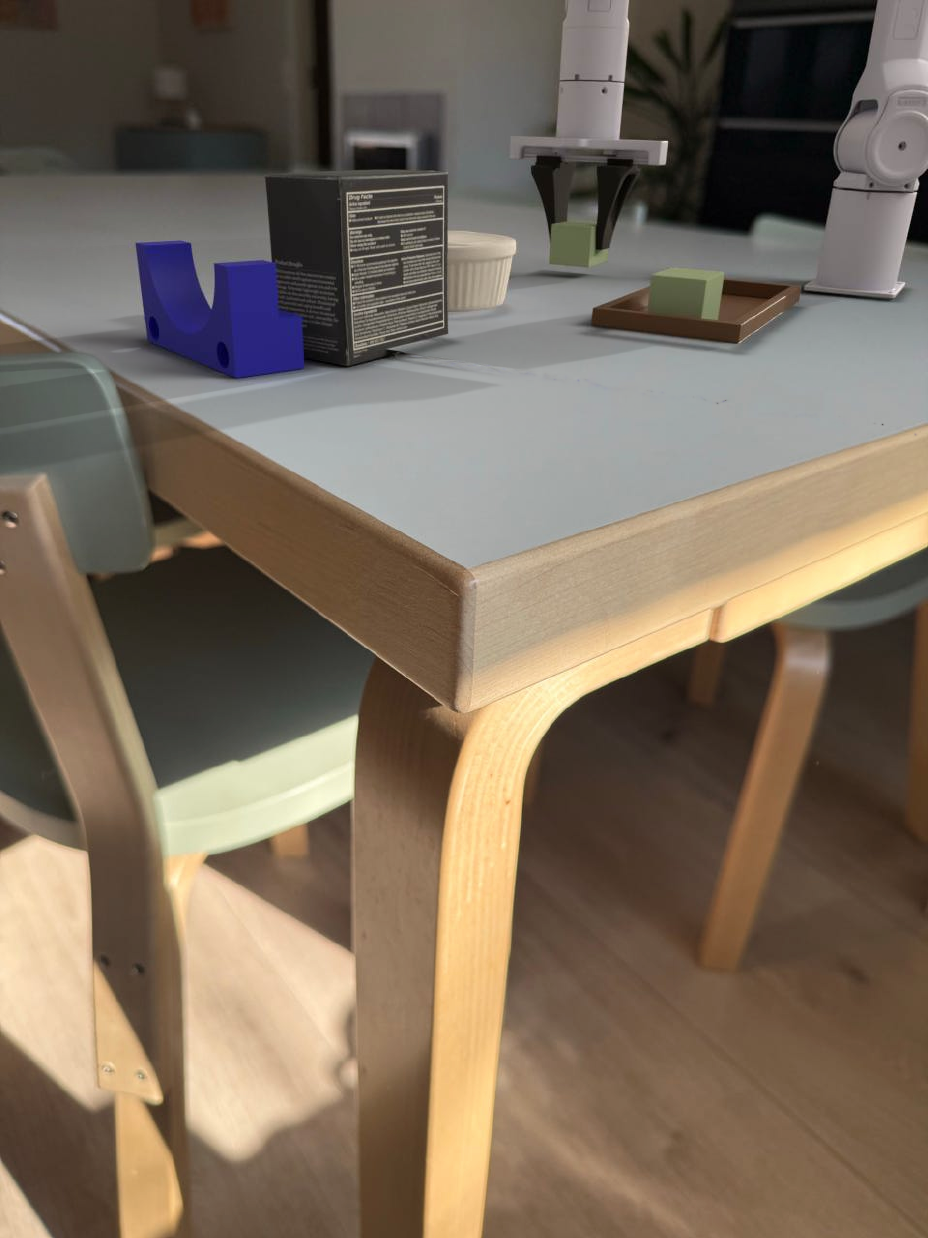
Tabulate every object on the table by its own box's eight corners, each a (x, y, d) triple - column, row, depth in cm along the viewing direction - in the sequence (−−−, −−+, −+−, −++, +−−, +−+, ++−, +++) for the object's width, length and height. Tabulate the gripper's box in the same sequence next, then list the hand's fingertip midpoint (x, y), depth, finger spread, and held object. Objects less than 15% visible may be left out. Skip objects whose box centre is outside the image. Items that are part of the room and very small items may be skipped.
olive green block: (569, 258, 94) (571, 220, 92) (607, 261, 92) (610, 222, 90) (548, 263, 90) (551, 223, 88) (588, 267, 88) (591, 226, 86)
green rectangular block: (666, 315, 73) (671, 266, 71) (717, 321, 71) (725, 271, 69) (645, 325, 69) (650, 274, 67) (699, 331, 67) (706, 279, 65)
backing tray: (677, 294, 86) (680, 273, 85) (797, 307, 81) (802, 285, 80) (590, 333, 69) (592, 307, 68) (737, 352, 64) (741, 324, 63)
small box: (377, 328, 68) (375, 165, 63) (451, 341, 65) (455, 171, 60) (270, 352, 60) (258, 168, 55) (349, 368, 57) (343, 174, 52)
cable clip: (304, 368, 57) (299, 261, 54) (236, 378, 54) (226, 266, 51) (210, 333, 65) (202, 239, 62) (147, 340, 62) (135, 242, 59)
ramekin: (356, 315, 72) (354, 240, 70) (392, 293, 82) (391, 227, 79) (502, 324, 71) (505, 248, 68) (520, 300, 80) (524, 233, 78)
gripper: (498, 79, 84) (492, 244, 90) (657, 80, 78) (638, 257, 84) (531, 83, 89) (523, 238, 96) (681, 84, 83) (662, 249, 90)
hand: (579, 246), depth 90 cm, fingers closed on olive green block, 4 cm apart
